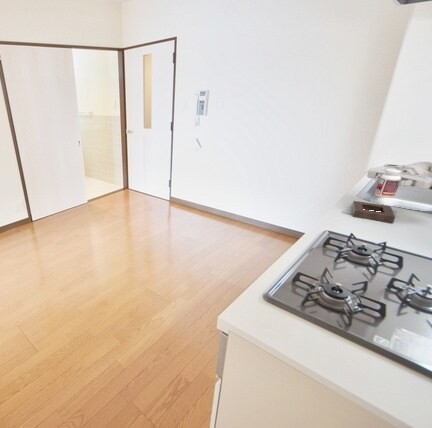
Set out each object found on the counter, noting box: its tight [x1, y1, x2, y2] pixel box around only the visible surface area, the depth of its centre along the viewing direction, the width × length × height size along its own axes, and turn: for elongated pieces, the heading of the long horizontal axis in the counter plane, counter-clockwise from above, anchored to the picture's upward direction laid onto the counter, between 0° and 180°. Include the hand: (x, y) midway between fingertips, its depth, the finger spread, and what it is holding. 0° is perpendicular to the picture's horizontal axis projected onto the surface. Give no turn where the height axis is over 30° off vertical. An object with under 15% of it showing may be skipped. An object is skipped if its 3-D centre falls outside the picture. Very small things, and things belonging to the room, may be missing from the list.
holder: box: [351, 200, 396, 224], centre depth 124 cm, size 13×13×3 cm
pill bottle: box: [374, 169, 401, 199], centre depth 115 cm, size 6×6×11 cm
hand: (388, 181), depth 114 cm, fingers closed on pill bottle, 6 cm apart
